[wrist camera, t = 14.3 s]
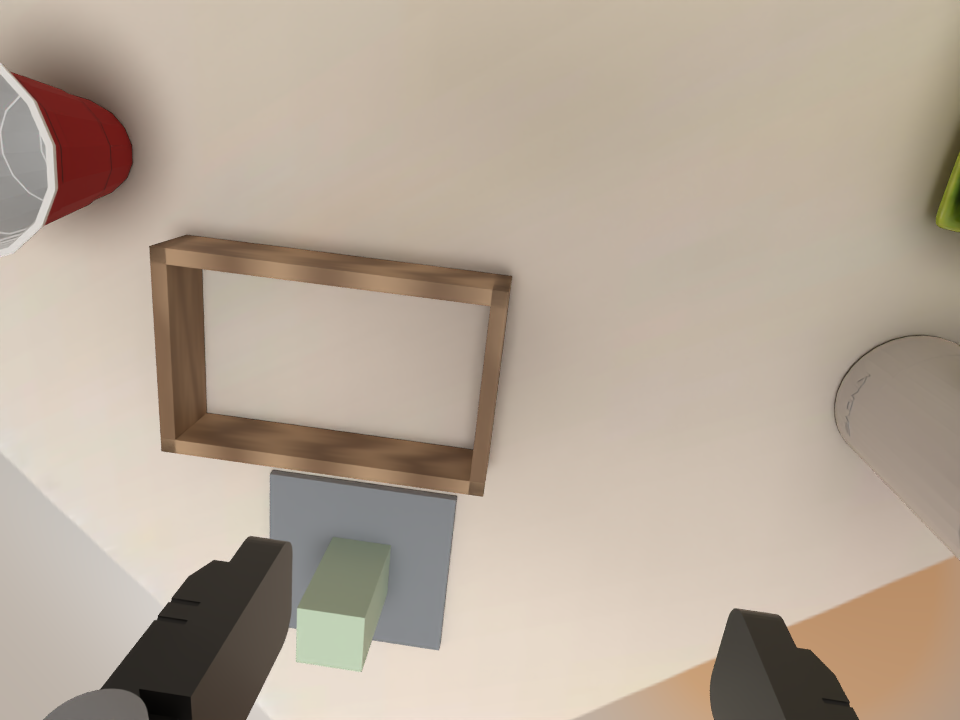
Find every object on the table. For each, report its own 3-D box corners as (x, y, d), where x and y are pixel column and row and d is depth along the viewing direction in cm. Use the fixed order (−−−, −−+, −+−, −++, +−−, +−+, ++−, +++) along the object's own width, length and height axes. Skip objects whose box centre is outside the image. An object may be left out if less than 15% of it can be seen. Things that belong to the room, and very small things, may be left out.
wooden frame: (512, 275, 44) (509, 292, 39) (488, 464, 48) (483, 496, 44) (186, 234, 45) (149, 246, 40) (194, 423, 49) (161, 451, 45)
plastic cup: (206, 186, 43) (89, 207, 32) (80, 257, 46) (-71, 299, 34) (109, 21, 41) (-57, -20, 29) (-21, 106, 43) (-220, 98, 32)
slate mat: (456, 496, 49) (455, 500, 49) (440, 644, 54) (439, 650, 54) (272, 470, 50) (269, 474, 49) (272, 619, 55) (269, 624, 54)
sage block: (390, 545, 51) (365, 618, 43) (387, 593, 52) (361, 672, 45) (332, 536, 51) (296, 608, 43) (330, 585, 52) (295, 661, 45)
